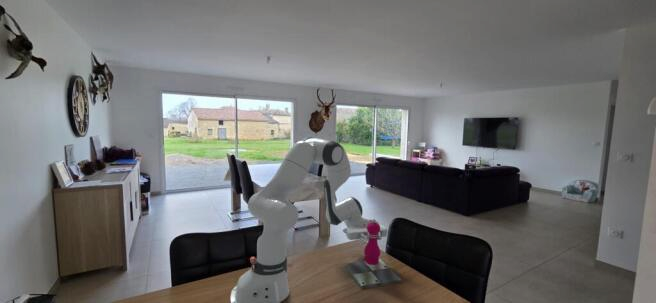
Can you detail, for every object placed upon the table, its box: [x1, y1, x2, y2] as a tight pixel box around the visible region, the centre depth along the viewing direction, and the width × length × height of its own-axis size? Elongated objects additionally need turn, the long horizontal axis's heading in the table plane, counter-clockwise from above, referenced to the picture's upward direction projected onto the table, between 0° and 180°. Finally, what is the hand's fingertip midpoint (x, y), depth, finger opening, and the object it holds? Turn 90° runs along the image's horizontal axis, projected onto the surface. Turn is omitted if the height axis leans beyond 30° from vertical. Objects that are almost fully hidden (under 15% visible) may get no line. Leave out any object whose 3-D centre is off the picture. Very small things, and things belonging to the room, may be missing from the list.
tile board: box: [344, 258, 402, 290], centre depth 124 cm, size 19×19×1 cm
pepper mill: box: [363, 218, 381, 265], centre depth 124 cm, size 7×7×20 cm
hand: (374, 238), depth 123 cm, fingers closed on pepper mill, 5 cm apart
